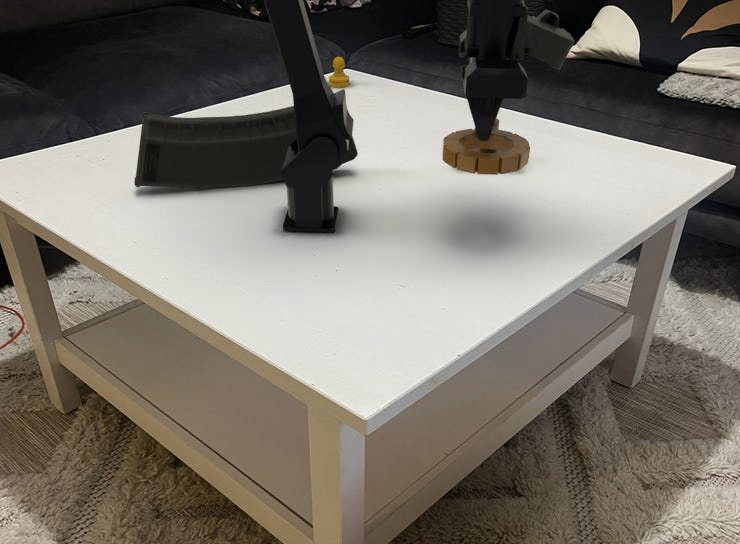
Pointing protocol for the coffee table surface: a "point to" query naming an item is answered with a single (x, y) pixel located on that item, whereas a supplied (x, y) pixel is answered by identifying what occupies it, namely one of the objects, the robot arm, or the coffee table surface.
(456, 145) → the ring
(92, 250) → the coffee table surface
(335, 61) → the chess piece
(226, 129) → the magazine
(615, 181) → the coffee table surface
